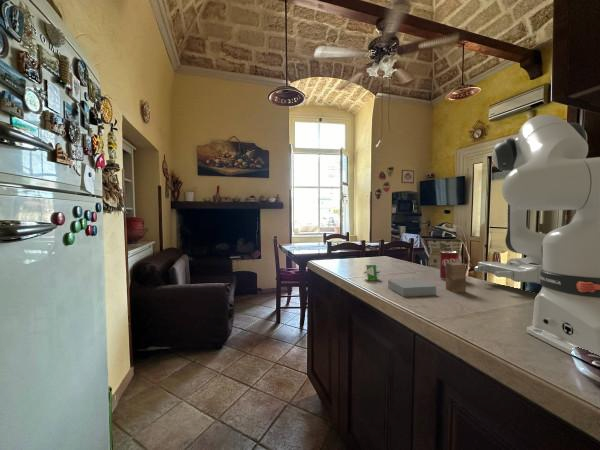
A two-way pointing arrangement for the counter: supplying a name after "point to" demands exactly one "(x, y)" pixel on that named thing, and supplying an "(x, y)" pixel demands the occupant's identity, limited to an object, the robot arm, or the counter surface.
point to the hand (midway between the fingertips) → (485, 271)
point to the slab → (411, 287)
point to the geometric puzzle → (371, 272)
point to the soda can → (447, 261)
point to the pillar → (455, 277)
